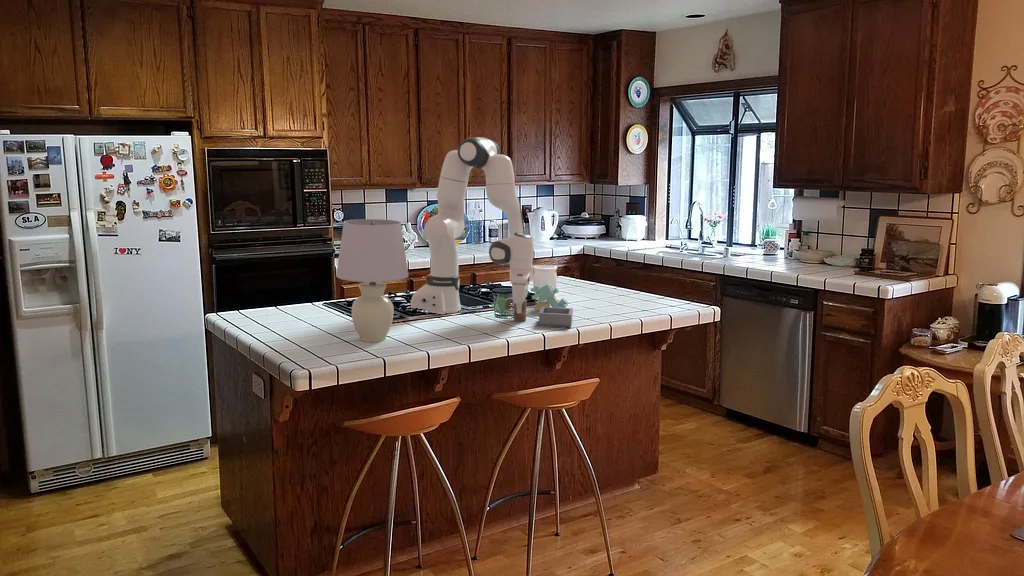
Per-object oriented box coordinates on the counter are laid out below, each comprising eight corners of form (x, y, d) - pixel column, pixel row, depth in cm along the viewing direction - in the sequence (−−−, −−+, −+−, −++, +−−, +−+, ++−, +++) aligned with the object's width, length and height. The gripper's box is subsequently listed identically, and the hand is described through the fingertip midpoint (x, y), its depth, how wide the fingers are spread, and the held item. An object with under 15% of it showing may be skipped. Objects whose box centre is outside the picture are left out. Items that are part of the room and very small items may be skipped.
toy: (571, 311, 315) (555, 279, 311) (541, 323, 318) (524, 292, 314) (571, 301, 324) (556, 270, 320) (542, 313, 328) (527, 283, 323)
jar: (533, 297, 345) (534, 263, 343) (556, 298, 344) (558, 265, 341) (530, 302, 335) (532, 267, 332) (554, 303, 334) (556, 268, 331)
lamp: (326, 335, 269) (324, 219, 262) (389, 327, 283) (388, 217, 275) (354, 351, 250) (353, 227, 243) (420, 342, 264) (421, 224, 256)
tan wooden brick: (513, 320, 299) (514, 300, 298) (514, 319, 302) (515, 299, 300) (525, 321, 299) (526, 301, 297) (526, 320, 301) (526, 299, 300)
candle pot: (538, 326, 292) (539, 313, 291) (541, 319, 303) (541, 306, 302) (570, 328, 290) (571, 314, 289) (572, 320, 302) (572, 308, 301)
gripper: (516, 270, 308) (515, 305, 310) (509, 279, 288) (508, 316, 290) (532, 271, 307) (531, 305, 309) (526, 280, 287) (525, 317, 289)
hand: (520, 311), depth 300 cm, fingers open, 6 cm apart
